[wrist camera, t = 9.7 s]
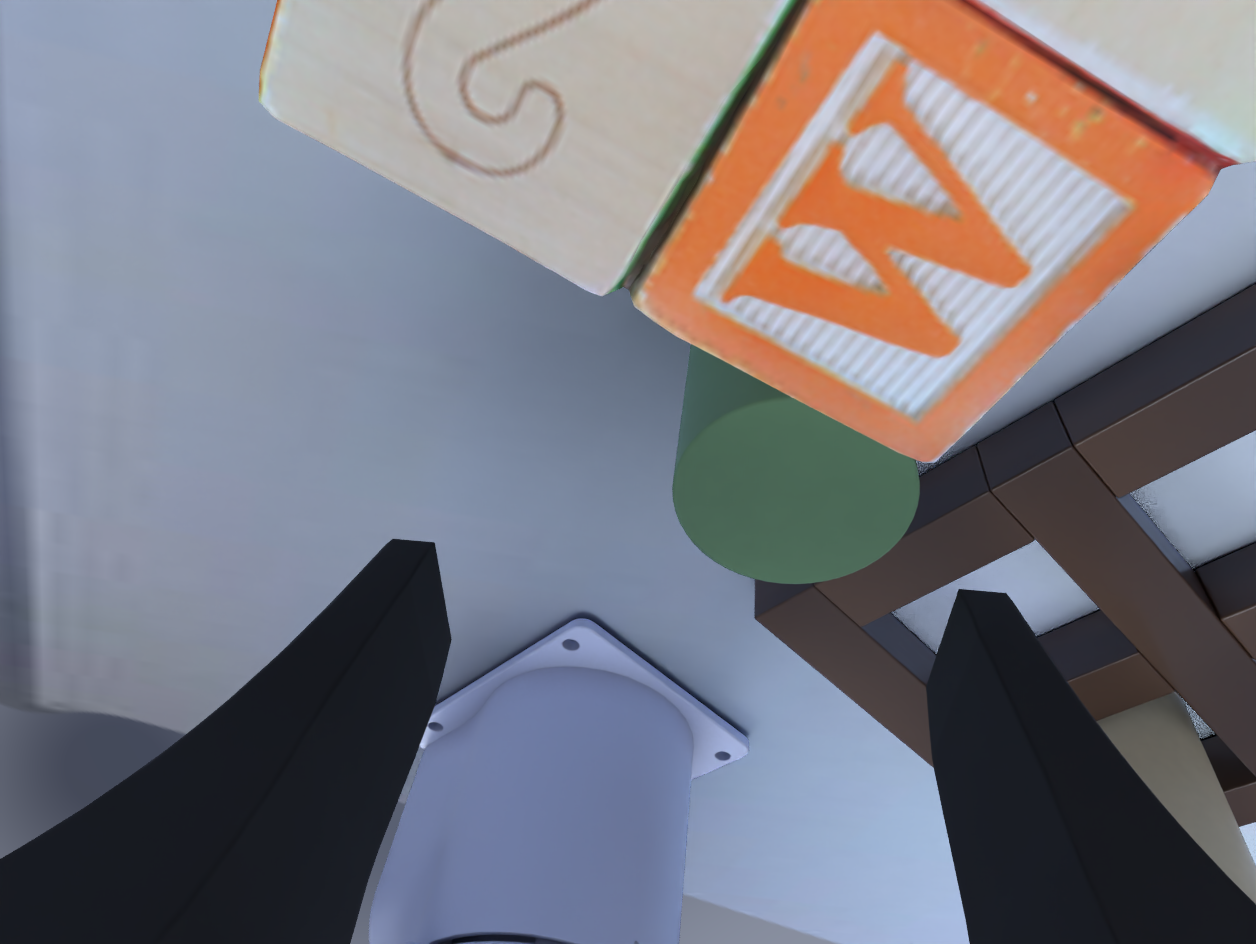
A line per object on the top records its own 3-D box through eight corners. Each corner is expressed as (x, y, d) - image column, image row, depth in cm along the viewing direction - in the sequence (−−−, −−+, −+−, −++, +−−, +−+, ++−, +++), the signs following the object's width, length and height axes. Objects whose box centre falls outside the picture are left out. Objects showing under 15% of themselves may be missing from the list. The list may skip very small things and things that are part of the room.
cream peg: (1083, 770, 29) (1155, 1001, 24) (1016, 708, 28) (1077, 939, 22) (1209, 726, 27) (1319, 968, 22) (1144, 656, 26) (1245, 897, 20)
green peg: (773, 403, 22) (776, 616, 17) (660, 291, 20) (622, 486, 15) (915, 305, 20) (970, 512, 15) (801, 174, 18) (815, 350, 13)
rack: (1051, 828, 32) (1064, 878, 30) (754, 571, 26) (753, 619, 24) (1629, 643, 23) (1683, 700, 22) (1391, 203, 17) (1445, 243, 16)
